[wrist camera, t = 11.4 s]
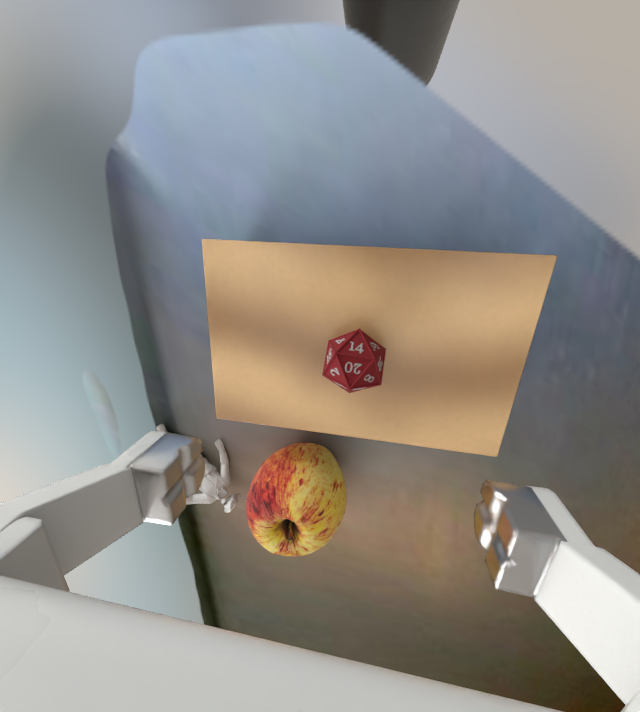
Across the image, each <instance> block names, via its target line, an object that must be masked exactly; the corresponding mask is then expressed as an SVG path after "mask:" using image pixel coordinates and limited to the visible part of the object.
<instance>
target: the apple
mask: <svg viewBox="0 0 640 712" xmlns="http://www.w3.org/2000/svg"><path fill="white" fill-rule="evenodd" d="M346 502H347V495H346V487H345V482H344V477H343V474H342V471H341V469H340V467H339V465H338V463H337V461H336V459H335V457H334V456H333V454H332V453H331V452H330V451H329V450H328V449H327V448H325V447H323V446H321V445H319V444H314V443H296V444H292V445H289V446H286V447H284V448H282V449H280V450H278V451H277V452H275V453H274V454H272V455H271V456H270V457H269V458H268V459H267V460H266V461H265V462H264V463H263V464H262V465H261V467H260V468H259V470H258V471H257V473H256V475H255V477H254V479H253V481H252V484H251V486H250V489H249V493H248V497H247V503H246V512H247V518H248V523H249V526H250V529H251V531H252V534H253V535H254V537H255V538H256V540H257V541H258V542H259V543H260V544H261V545H262V546H263V547H264V548H266V549H267V550H268V551H270V552H271V553H274V554H279V555H284V556H301V555H307V554H310V553H312V552H314V551H316V550H318V549H320V548H321V547H323V546H324V545H325V544H326V543H327V542H328V541H329V540H330V539H331V538H332V537H333V535H334V534H335V532H336V531H337V529H338V527H339V526H340V524H341V521H342V519H343V516H344V513H345V509H346Z"/></svg>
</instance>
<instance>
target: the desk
mask: <svg viewBox="0 0 640 712" xmlns="http://www.w3.org/2000/svg"><path fill="white" fill-rule="evenodd" d="M202 247H203V259H204V272H205V284H206V296H207V308H208V320H209V332H210V344H211V357H212V369H213V381H214V393H215V405H216V417H217V418H218V419H225V420H233V421H240V422H247V423H255V424H262V425H269V426H276V427H284V428H291V429H298V430H306V431H313V432H320V433H327V434H335V435H342V436H349V437H357V438H364V439H371V440H379V441H386V442H393V443H400V444H408V445H415V446H422V447H430V448H437V449H444V450H452V451H459V452H466V453H473V454H481V455H488V456H495V457H497V455H498V452H499V449H500V445H501V442H502V439H503V435H504V432H505V429H506V425H507V422H508V419H509V416H510V412H511V409H512V406H513V402H514V399H515V396H516V392H517V389H518V386H519V382H520V379H521V376H522V372H523V369H524V366H525V362H526V359H527V356H528V352H529V349H530V346H531V342H532V339H533V336H534V332H535V329H536V326H537V322H538V319H539V316H540V313H541V309H542V306H543V303H544V299H545V296H546V293H547V289H548V286H549V283H550V279H551V276H552V273H553V269H554V266H555V263H556V259H557V256H556V255H535V254H514V253H492V252H471V251H449V250H428V249H406V248H385V247H364V246H342V245H321V244H299V243H278V242H256V241H235V240H214V239H202ZM359 328H360V329H361V330H362V331H363V332H364V333H366V334H367V335H368V336H370V337H371V338H372V339H374V340H375V341H376V342H377V343H379V344H380V345H381V346H383V347H384V348H386V354H385V361H384V368H383V376H382V383H381V385H379V386H375V387H371V388H367V389H363V390H359V391H356V392H352V393H348V392H347V391H345V390H344V389H342V388H341V387H339V386H338V385H336V384H335V383H333V382H332V381H330V380H329V379H327V378H326V377H324V376H322V373H323V368H324V363H325V357H326V351H327V346H328V340H331V339H334V338H336V337H339V336H341V335H344V334H347V333H349V332H352V331H355V330H357V329H359Z"/></svg>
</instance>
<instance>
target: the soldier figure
mask: <svg viewBox="0 0 640 712" xmlns="http://www.w3.org/2000/svg"><path fill="white" fill-rule="evenodd" d="M156 429H157V430H158V431H161V432H167V430H166V428H165V425H164V424H160V425H159V426H157V428H156ZM167 433H168V432H167ZM217 441H218V440H217ZM217 441H216V443H217V444H216V443H215V445H216V447H217V448H218V449H219V451H220V462H221V474H219V473H218V472H217V471H216V470H217V469H216V467H215V466H214V464H212V465H211V464H210V463H208V462H207V459H206V458H203V456H202V454H201V453H200V454H199V455H200V456H201V457H202V459H203V460H204V461H205V474H204V478H203V481H202V483H201V486H200V487H199V489H200V491H202V492H203V493H204V494H197V495H192V496H190V497H188V498H186V504H193V503H197V504H198V503H206V504H208V503H209V504H211V503H212V502H214V501H216V500H217V499H219V500H221V499H222V501H221V502H222V503H223V505H224V507H225V512H227V513H228V512H230V511H231V509H233V508H234V507H235V506H236V505H237V503H238V501H239V500H240V497H241V496H240V493H239V494H236V495H233V494H231V495H230V496H229V497H228V498H227V499H223V498H224V497H225V495H226V494H227V493H228V491H227V486H228V485H229V483H230V473H229V460H228V456H227V453H226V449H225V448H224V445H223V443H222V442H221V440H220V439H219V441H220V442H219V441H218V442H217ZM218 443H219V444H218ZM217 445H218V446H217Z"/></svg>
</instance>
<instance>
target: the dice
mask: <svg viewBox="0 0 640 712" xmlns="http://www.w3.org/2000/svg"><path fill="white" fill-rule="evenodd" d="M385 354H386V348H384V347H383V346H381V345H380V344H379V343H377V342H376V341H375V340H374V339H372V338H371V337H370V336H368V335H367V334H366V333H364V332H363V331H362V330H361V329H360V328H359V329H357V330H355V331H352V332H349V333H347V334H344V335H341V336H339V337H336V338H334V339H331V340H328V346H327V351H326V357H325V363H324V368H323V373H322V376H324V377H326V378H327V379H329V380H330V381H332V382H333V383H335V384H336V385H338V386H339V387H341V388H342V389H344V390H345V391H347V392H348V393H352V392H356V391H359V390H363V389H367V388H371V387H375V386H379V385H381V383H382V376H383V368H384V361H385Z"/></svg>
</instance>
